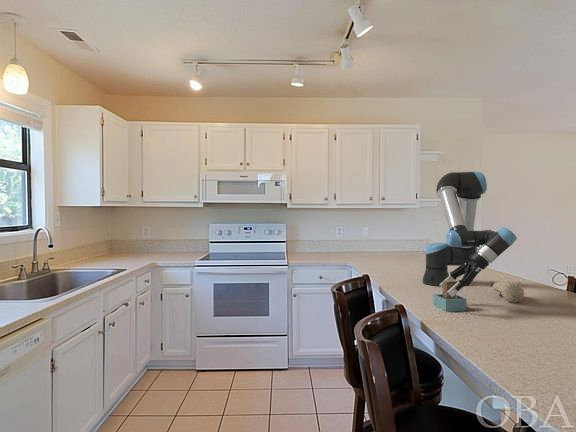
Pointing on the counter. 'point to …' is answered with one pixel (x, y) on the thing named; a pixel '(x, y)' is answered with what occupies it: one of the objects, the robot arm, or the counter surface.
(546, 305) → the counter surface
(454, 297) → the wooden post on plate
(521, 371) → the counter surface
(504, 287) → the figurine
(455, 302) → the teal storage bin
